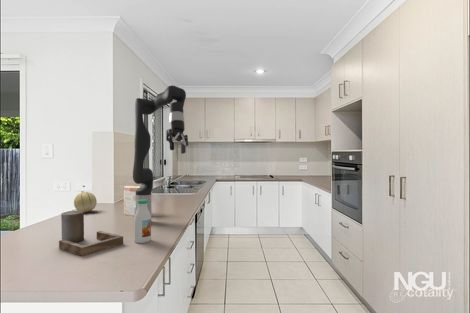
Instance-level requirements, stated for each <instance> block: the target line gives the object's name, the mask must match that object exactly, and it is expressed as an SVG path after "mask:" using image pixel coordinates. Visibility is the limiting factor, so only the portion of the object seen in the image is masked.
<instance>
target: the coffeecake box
mask: <svg viewBox="0 0 470 313" xmlns="http://www.w3.org/2000/svg"><path fill="white" fill-rule="evenodd" d="M140 187H141V185H140V186H137V185H125V186H123V215H127V216H132V217H135V207H136V190H137V189H138V188H140Z"/></svg>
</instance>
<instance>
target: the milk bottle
mask: <svg viewBox="0 0 470 313" xmlns="http://www.w3.org/2000/svg"><path fill="white" fill-rule="evenodd" d="M147 204H148V200H146V199H142V200H138V209H137V212H136V214H135V216H134V222H133V223H134V225H133V227H134V228H133V229H134V230H133V233H134V235H133V236H134V237H133V239H134V240H133V241H134V242H135V243H137V244H144V243H149V242H151V240H152V214H151V215H150V212H149V210H148V207H147Z"/></svg>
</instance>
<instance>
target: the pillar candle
mask: <svg viewBox="0 0 470 313" xmlns="http://www.w3.org/2000/svg"><path fill="white" fill-rule="evenodd" d="M84 214H85V213H84V212H83V211H78V210H70V211H65V212H64V211H63V212H62V213H61V214H60V215H61V240H67V241H70V242H73V243H79V242H82V241H84V240H85V215H84Z"/></svg>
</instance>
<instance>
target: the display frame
mask: <svg viewBox="0 0 470 313" xmlns="http://www.w3.org/2000/svg"><path fill="white" fill-rule="evenodd" d="M96 239H97V240H100V241H96V242H93V243H88V244H85V245H84V244H83V245H82V244H79V243H78V242H75V243H73V242H70V241H67V240H62V239H61V240H58V249H59V248H60V249H59V250H62V249H63V250H62V251H65V250H66V251H65V252H68V251H69V253H71V252H72V253H71V254H74V253H75V255H77V254H78V255H77V256H80V255H81V256H80V257H83V255H84V256H87V255H86V254H88V255H90V253H91V254H94V253H97V251H98V252H101V251H103V250H107V248H108V249H110V248H114V247H117V246H121V245H123V244H124V236H123V235H119V234H115V233H111V232H108V231H107V232H106V231H102V230H98V231H96Z"/></svg>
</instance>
